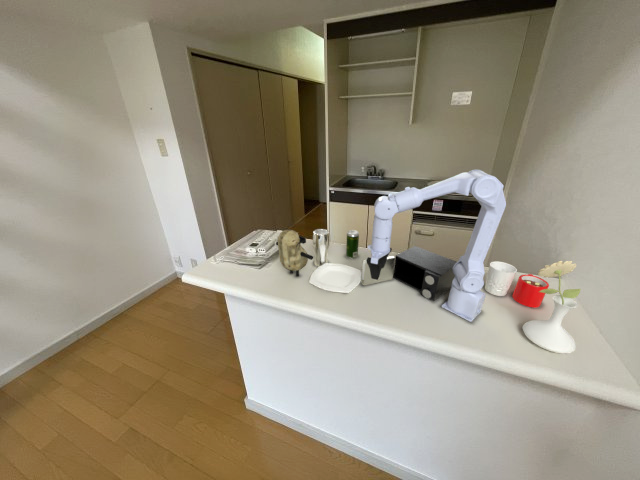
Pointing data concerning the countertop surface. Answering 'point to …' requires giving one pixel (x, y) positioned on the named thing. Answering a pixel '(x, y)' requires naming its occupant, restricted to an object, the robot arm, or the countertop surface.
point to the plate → (336, 277)
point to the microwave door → (384, 274)
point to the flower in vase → (554, 314)
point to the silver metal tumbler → (320, 246)
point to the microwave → (424, 271)
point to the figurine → (292, 251)
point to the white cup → (499, 278)
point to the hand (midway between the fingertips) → (377, 272)
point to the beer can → (352, 244)
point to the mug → (529, 290)
